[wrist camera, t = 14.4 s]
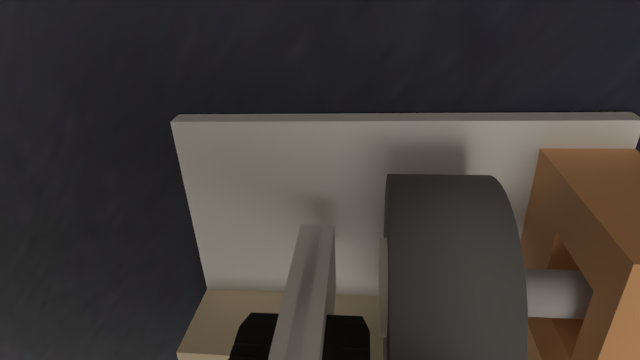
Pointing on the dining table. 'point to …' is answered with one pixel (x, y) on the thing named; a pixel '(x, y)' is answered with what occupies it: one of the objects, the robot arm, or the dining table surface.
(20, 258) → the dining table surface
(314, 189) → the chassis
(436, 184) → the wheel
